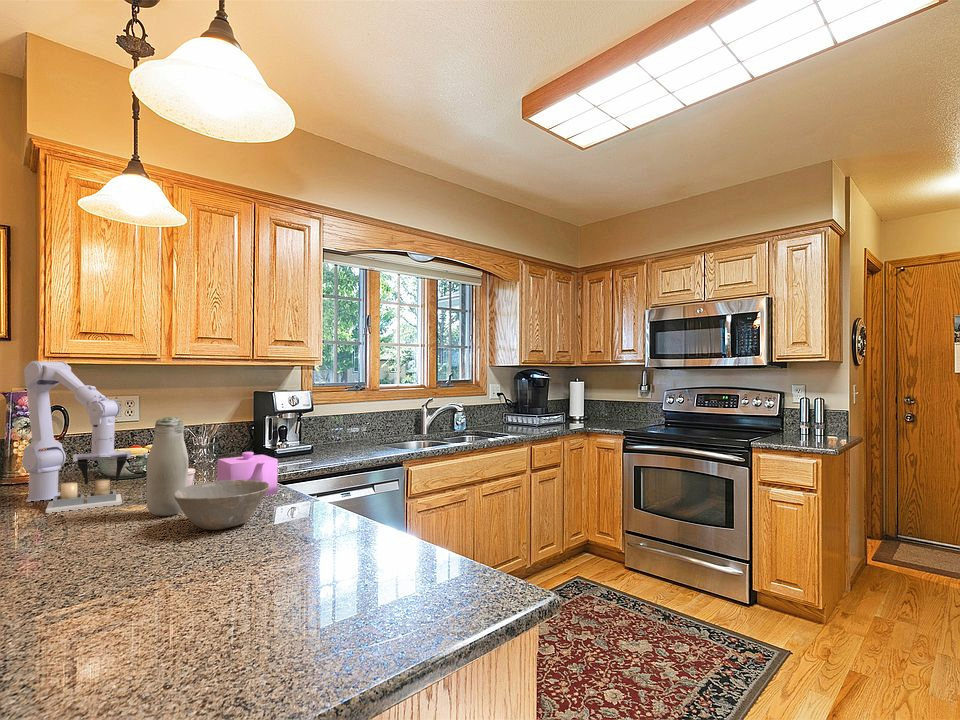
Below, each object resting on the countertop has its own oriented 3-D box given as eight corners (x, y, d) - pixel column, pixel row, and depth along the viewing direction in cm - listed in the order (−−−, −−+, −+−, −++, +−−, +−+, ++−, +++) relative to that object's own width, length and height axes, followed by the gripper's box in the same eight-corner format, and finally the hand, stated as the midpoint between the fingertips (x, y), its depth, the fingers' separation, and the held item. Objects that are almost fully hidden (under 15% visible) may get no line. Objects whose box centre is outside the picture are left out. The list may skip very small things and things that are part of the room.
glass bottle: (141, 521, 142) (143, 418, 143) (153, 511, 152) (155, 415, 153) (181, 518, 145) (183, 418, 146) (190, 509, 155) (192, 415, 156)
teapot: (237, 505, 160) (238, 459, 161) (212, 491, 179) (213, 450, 179) (286, 497, 171) (286, 454, 171) (257, 485, 189) (258, 446, 189)
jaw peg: (94, 499, 162) (94, 479, 162) (109, 497, 164) (110, 478, 165) (93, 501, 159) (94, 482, 159) (109, 500, 161) (110, 480, 161)
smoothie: (187, 503, 162) (188, 458, 162) (167, 503, 162) (168, 458, 162) (199, 498, 168) (199, 455, 169) (179, 498, 168) (180, 454, 169)
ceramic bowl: (154, 530, 134) (155, 492, 134) (233, 510, 154) (234, 476, 155) (209, 544, 124) (210, 502, 124) (286, 520, 144) (286, 484, 144)
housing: (48, 505, 159) (49, 482, 159) (120, 496, 169) (120, 475, 169) (45, 513, 149) (46, 489, 149) (121, 504, 160) (122, 481, 160)
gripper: (73, 441, 154) (71, 487, 154) (131, 438, 163) (130, 482, 163) (74, 439, 160) (72, 483, 160) (130, 436, 169) (129, 478, 168)
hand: (101, 482), depth 162 cm, fingers open, 7 cm apart
